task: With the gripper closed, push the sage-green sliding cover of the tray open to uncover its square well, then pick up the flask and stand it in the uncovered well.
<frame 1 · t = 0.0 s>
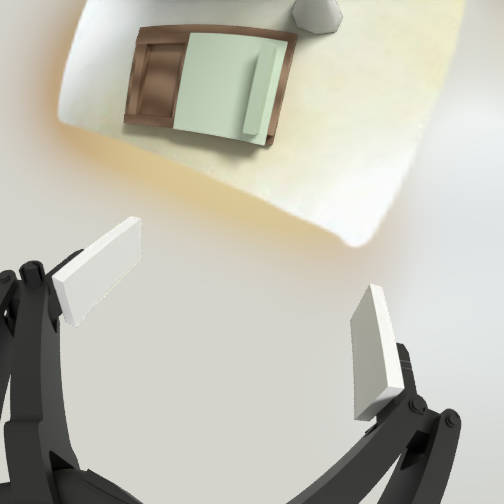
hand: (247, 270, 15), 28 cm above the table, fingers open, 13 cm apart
flask: (317, 14, 27), on the table
cover: (223, 83, 31), point 4 cm above the table, slide at 0.0 cm
tray: (201, 75, 35), on the table
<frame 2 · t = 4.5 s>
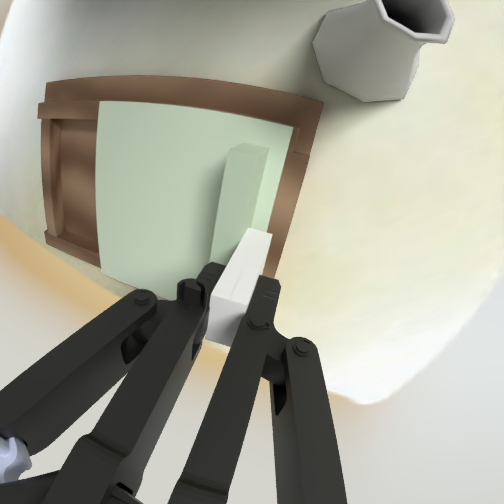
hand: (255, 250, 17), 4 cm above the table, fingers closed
flask: (366, 53, 13), on the table
cover: (159, 223, 17), point 4 cm above the table, slide at 0.6 cm, touching gripper
tray: (140, 178, 21), on the table
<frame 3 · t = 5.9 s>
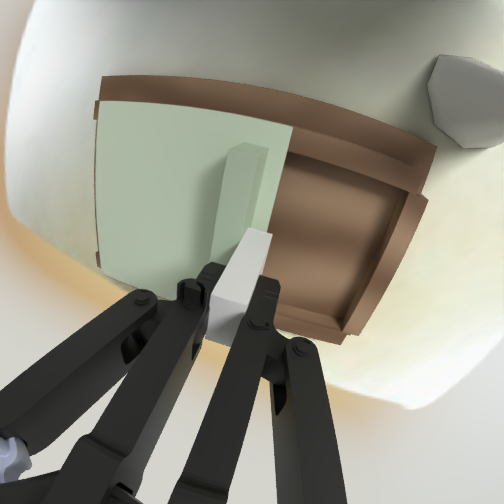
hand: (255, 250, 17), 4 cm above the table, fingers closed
flask: (465, 101, 13), on the table
cover: (159, 223, 17), point 4 cm above the table, slide at 8.7 cm, touching gripper
tray: (233, 201, 20), on the table
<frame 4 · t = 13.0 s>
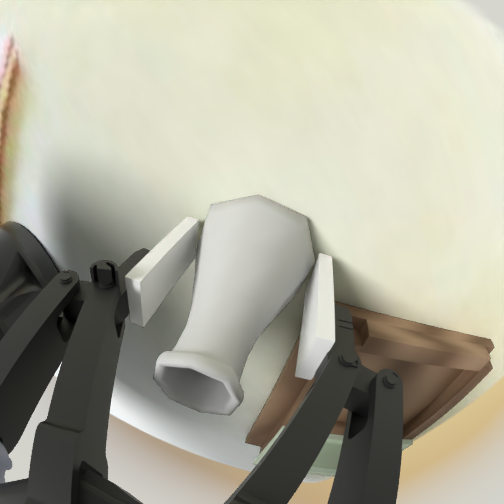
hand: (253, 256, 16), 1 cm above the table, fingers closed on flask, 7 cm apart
flask: (256, 249, 17), on the table, touching gripper
cover: (326, 469, 23), point 4 cm above the table, slide at 12.9 cm
tray: (351, 409, 23), on the table
when the fingers open (4 cm above the table, at t = 18.3 s): flask drops 2 cm, resting on tray.
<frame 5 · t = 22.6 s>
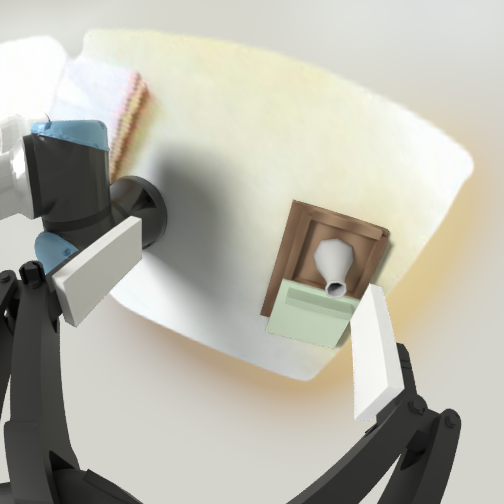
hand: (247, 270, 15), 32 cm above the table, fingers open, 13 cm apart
cup: (42, 126, 47), on the table
flask: (333, 255, 47), point 1 cm above the table, touching tray
cover: (310, 322, 51), point 4 cm above the table, slide at 12.9 cm
tray: (319, 275, 51), on the table
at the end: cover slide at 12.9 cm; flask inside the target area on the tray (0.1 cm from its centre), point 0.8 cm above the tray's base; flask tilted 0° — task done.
